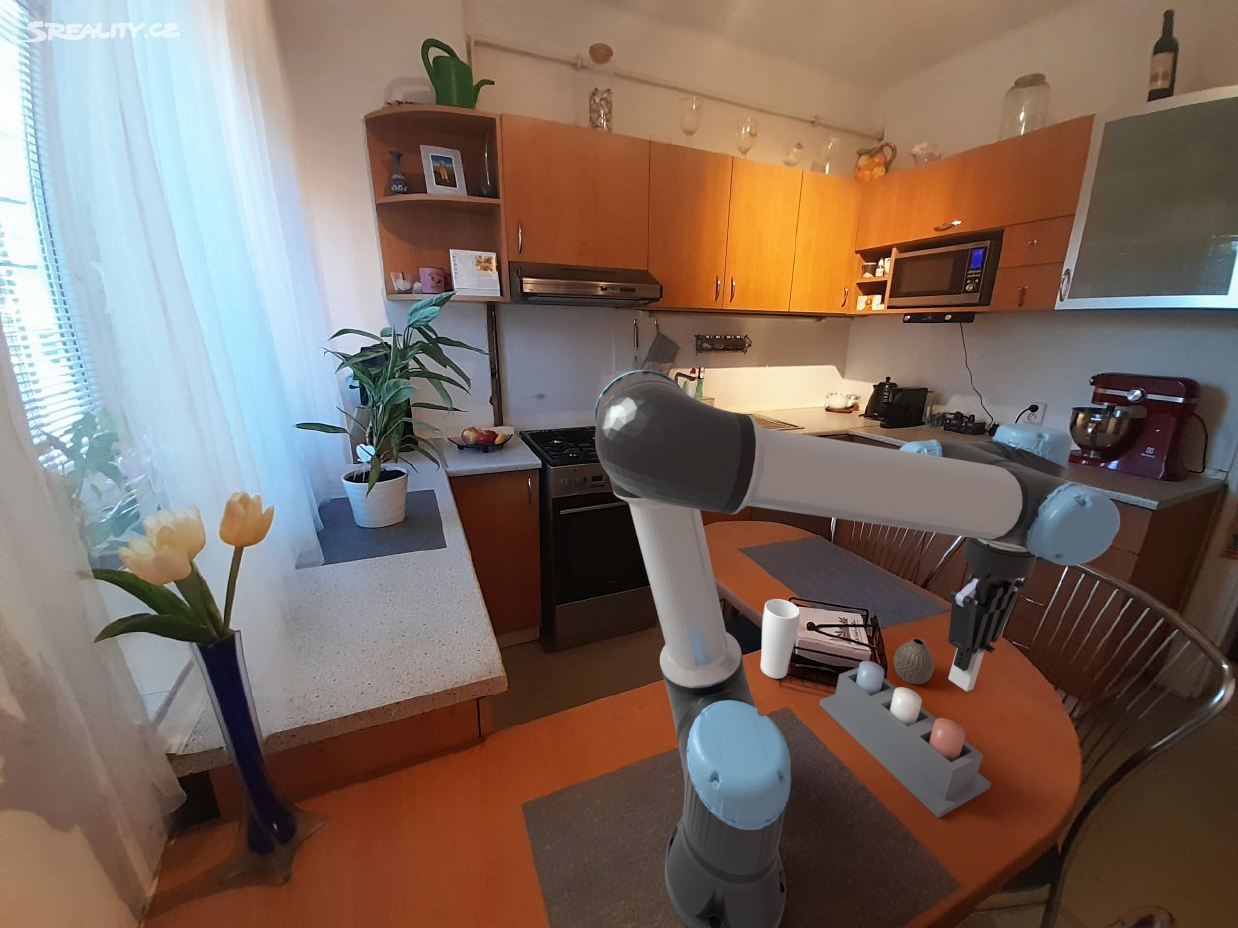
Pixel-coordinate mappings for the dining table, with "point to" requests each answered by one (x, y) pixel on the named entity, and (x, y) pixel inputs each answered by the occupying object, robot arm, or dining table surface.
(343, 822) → the dining table surface
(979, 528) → the robot arm
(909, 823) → the dining table surface
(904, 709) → the white rounded cylinder
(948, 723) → the pink rounded cylinder
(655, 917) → the dining table surface
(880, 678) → the light blue rounded cylinder
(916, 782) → the grey slotted holder
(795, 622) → the drinking glass
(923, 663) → the vase
